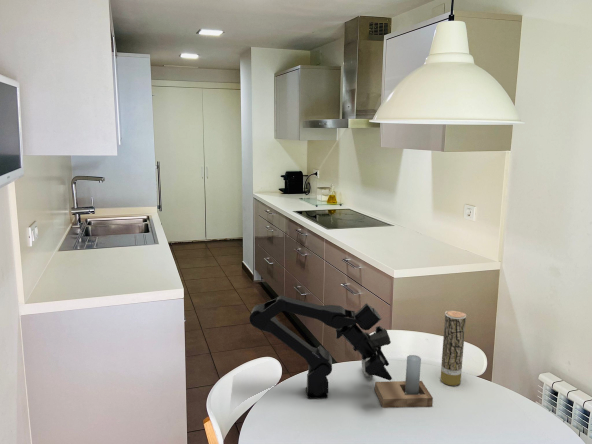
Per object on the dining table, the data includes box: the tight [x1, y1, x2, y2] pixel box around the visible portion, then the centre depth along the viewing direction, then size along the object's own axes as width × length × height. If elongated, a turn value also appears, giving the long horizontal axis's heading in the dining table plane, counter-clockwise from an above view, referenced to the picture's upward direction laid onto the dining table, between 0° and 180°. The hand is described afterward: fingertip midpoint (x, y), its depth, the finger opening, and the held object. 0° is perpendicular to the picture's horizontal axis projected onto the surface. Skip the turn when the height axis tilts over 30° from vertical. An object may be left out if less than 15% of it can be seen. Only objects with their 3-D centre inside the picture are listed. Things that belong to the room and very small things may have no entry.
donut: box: [361, 358, 374, 377], centre depth 176 cm, size 10×4×10 cm, turn 6°
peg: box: [404, 354, 422, 395], centre depth 161 cm, size 4×4×14 cm
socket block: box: [374, 380, 434, 409], centre depth 161 cm, size 16×11×3 cm
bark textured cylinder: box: [440, 310, 467, 387], centre depth 171 cm, size 7×7×25 cm
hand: (389, 372), depth 161 cm, fingers open, 9 cm apart
